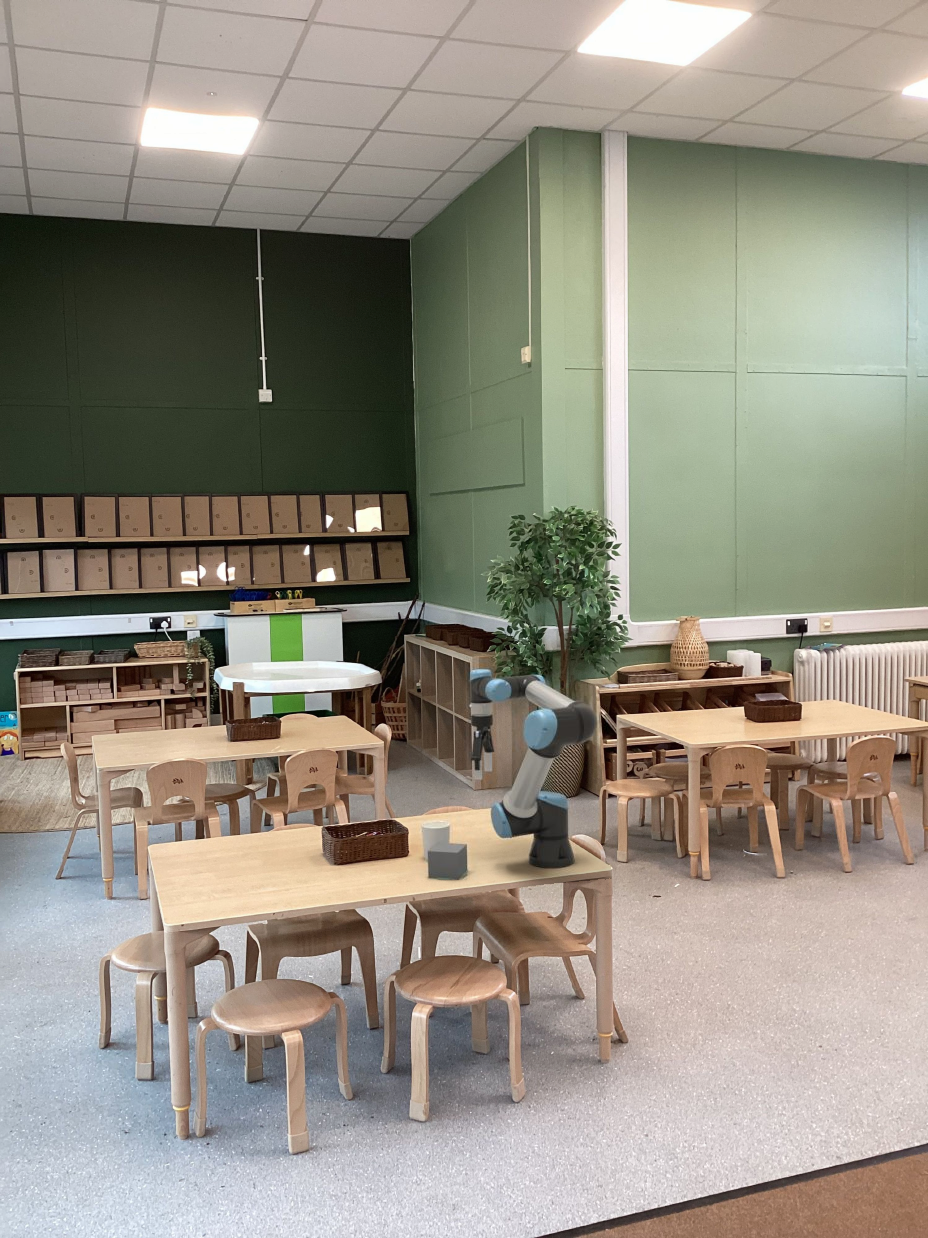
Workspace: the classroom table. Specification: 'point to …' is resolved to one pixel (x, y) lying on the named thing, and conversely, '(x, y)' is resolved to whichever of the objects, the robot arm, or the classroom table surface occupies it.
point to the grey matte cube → (447, 860)
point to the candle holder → (434, 834)
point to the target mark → (452, 879)
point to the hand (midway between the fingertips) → (483, 775)
